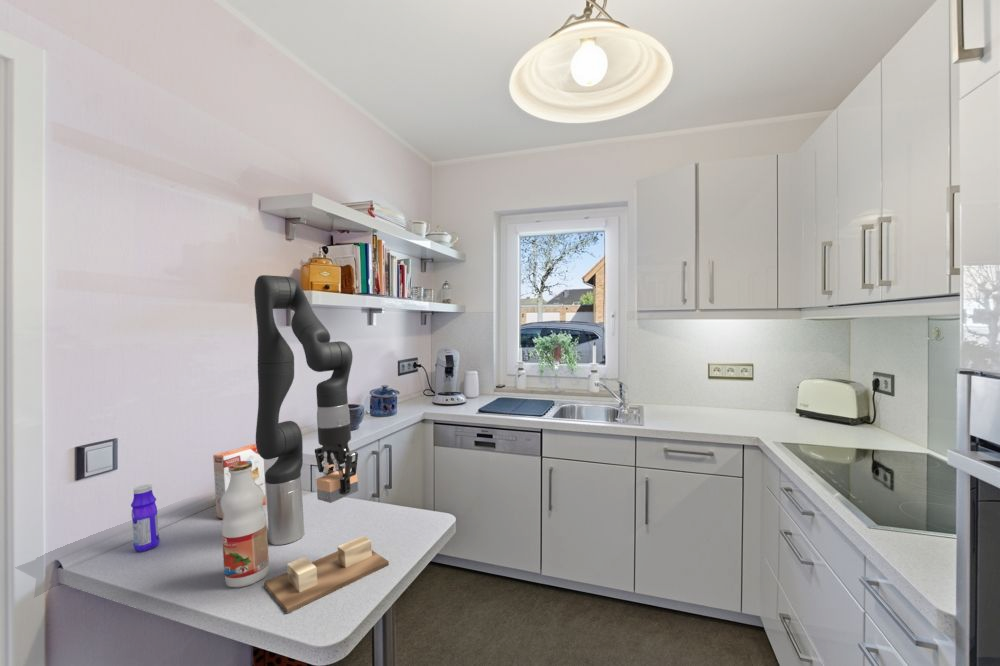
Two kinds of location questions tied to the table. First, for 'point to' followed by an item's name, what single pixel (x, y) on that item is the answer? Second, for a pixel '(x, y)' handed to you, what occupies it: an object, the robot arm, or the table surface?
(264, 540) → the fruit juice
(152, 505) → the bottle
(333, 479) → the cover
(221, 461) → the cracker box
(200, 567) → the table surface
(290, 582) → the twin stand
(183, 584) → the table surface
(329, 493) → the housing base
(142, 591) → the table surface
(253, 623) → the table surface
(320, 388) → the robot arm
